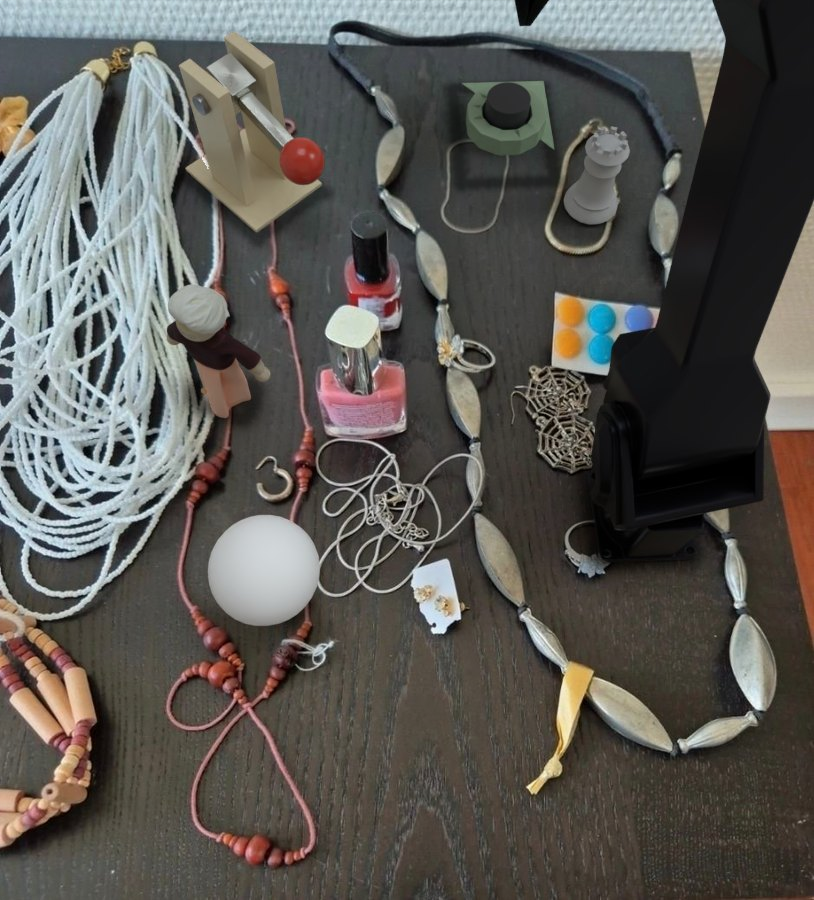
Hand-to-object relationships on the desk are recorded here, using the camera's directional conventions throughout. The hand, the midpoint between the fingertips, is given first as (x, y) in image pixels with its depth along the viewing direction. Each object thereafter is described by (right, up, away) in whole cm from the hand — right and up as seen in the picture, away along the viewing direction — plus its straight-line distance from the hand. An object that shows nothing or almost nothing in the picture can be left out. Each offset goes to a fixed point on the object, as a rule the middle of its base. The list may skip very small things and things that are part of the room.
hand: (524, 22), depth 57 cm
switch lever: (-19, -8, +1) cm, 20 cm away
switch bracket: (-21, -9, +9) cm, 24 cm away
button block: (0, -4, +11) cm, 12 cm away
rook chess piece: (+6, -12, +8) cm, 15 cm away
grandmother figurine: (-21, -27, 0) cm, 34 cm away
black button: (0, -3, +9) cm, 10 cm away
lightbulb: (-16, -41, -6) cm, 44 cm away
